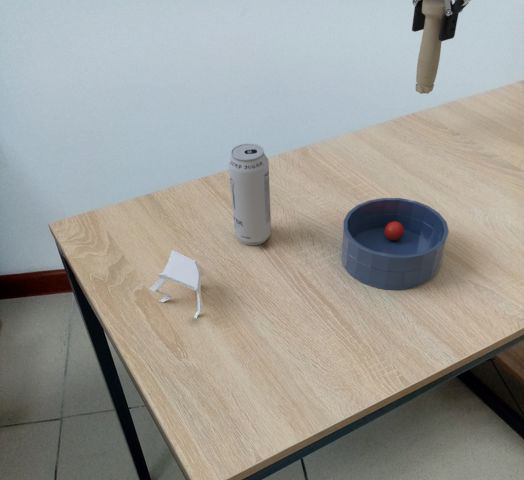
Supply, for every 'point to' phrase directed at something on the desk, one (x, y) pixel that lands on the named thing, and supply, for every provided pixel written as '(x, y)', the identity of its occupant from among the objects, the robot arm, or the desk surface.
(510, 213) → the desk surface
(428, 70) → the handle
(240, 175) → the energy drink can
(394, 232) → the bead
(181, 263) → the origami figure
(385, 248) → the bowl
